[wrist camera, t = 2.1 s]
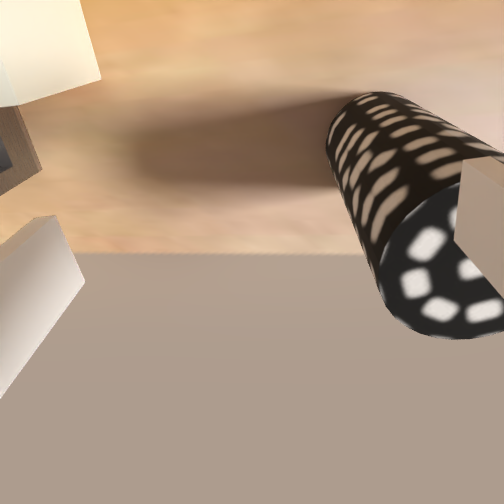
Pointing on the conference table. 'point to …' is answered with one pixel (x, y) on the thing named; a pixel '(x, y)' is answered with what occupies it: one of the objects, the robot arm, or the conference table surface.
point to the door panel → (43, 50)
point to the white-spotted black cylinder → (413, 213)
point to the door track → (15, 150)
